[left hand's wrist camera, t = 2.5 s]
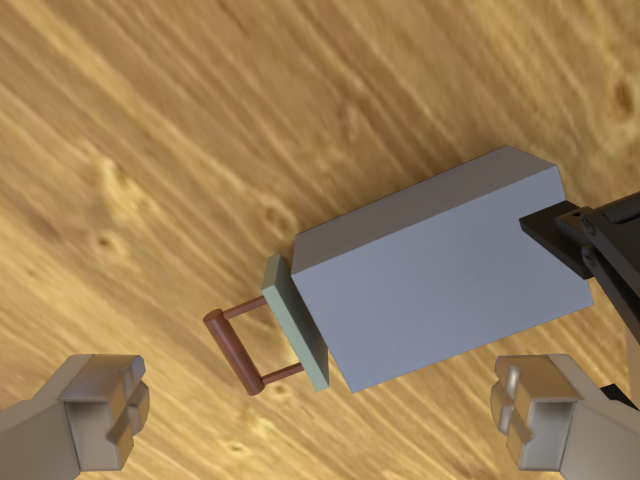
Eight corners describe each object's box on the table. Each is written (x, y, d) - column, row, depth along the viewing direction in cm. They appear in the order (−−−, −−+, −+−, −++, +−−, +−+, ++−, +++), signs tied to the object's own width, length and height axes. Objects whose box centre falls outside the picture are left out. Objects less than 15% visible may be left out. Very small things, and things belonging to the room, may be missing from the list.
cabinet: (345, 335, 45) (352, 394, 37) (295, 235, 41) (290, 275, 33) (541, 260, 42) (594, 304, 34) (506, 144, 39) (557, 164, 30)
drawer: (260, 369, 45) (251, 416, 39) (208, 282, 42) (189, 319, 36) (499, 276, 42) (531, 312, 36) (465, 173, 38) (493, 194, 32)
